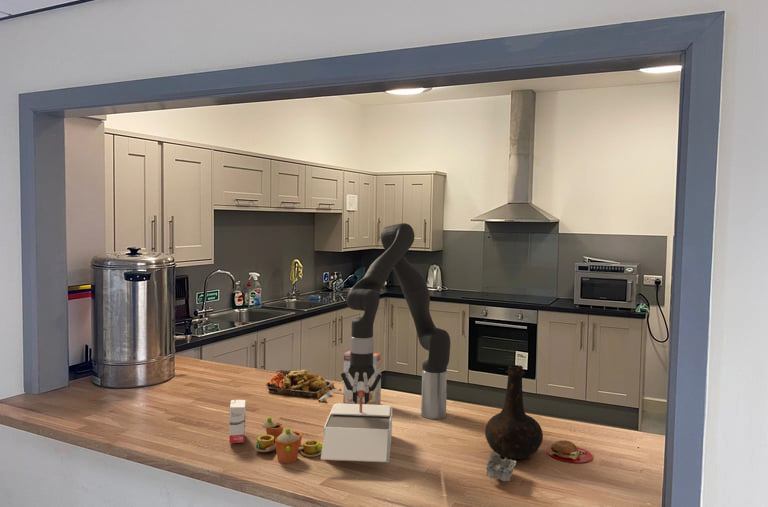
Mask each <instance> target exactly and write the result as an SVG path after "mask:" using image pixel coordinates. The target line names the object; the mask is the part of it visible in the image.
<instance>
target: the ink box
mask: <svg viewBox="0 0 768 507" xmlns="http://www.w3.org/2000/svg"><path fill="white" fill-rule="evenodd" d="M246 404H247V403H246V399H231V400H230V405H229V444H240V443H245V440H246V439H245V438H246V416H247V415H246V409H247V408H246Z"/></svg>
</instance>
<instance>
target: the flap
mask: <svg viewBox="0 0 768 507" xmlns="http://www.w3.org/2000/svg"><path fill="white" fill-rule="evenodd" d="M357 396H358V397H359V398H360V404H344V403H343V402H341V403H339V402H338V403H336V402H335V405H334V404H333V405H334V408H333V410H332V409H331V410H332V412H331V411H330V412H331V415H357V416H384V417H389V416H390V407H392V406H391V405H390V404H380V405H370V404H362V398H363V397H364V396H365V392H364V391H363V390H359V391H358V392H357Z"/></svg>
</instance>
